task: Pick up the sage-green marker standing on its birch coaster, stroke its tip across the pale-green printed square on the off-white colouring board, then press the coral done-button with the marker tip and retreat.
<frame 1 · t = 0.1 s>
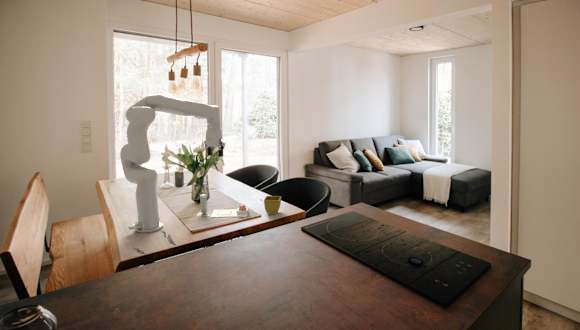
hand: (215, 155, 188), 31 cm above the table, fingers open, 9 cm apart
coaster: (204, 214, 177), on the table
flower pot: (272, 213, 179), on the table
board: (230, 214, 177), on the table
button: (242, 208, 177), point 3 cm above the table, slide at 0.0 cm
marker: (204, 213, 177), resting on coaster
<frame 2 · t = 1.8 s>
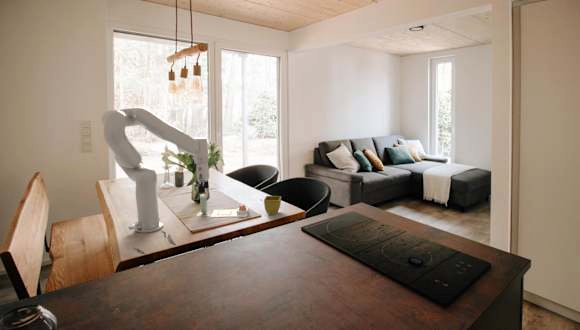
hand: (203, 190, 175), 14 cm above the table, fingers open, 9 cm apart
nothing on the table moved.
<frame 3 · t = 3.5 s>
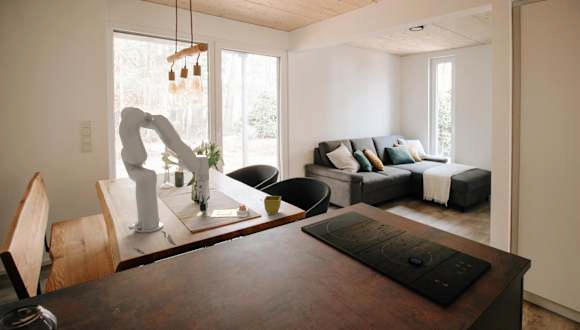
hand: (203, 209, 176), 3 cm above the table, fingers closed on marker, 3 cm apart
marker: (204, 213, 177), point 1 cm above the table, touching coaster, gripper
everything else where it was.
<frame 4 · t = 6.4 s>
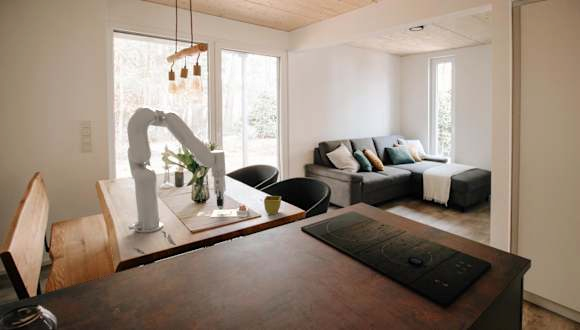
hand: (220, 204, 176), 6 cm above the table, fingers closed on marker, 3 cm apart
marker: (220, 209, 177), point 3 cm above the table, touching gripper
everything else where it was.
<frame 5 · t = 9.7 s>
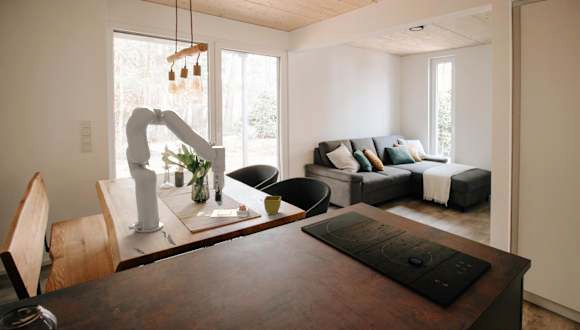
hand: (218, 200, 177), 8 cm above the table, fingers closed on marker, 3 cm apart
marker: (219, 205, 178), point 5 cm above the table, touching gripper
everything else where it was.
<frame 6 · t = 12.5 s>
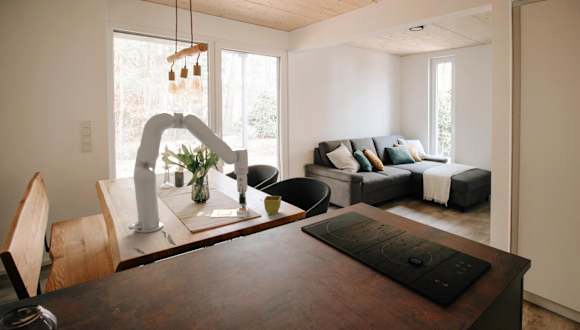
hand: (242, 202, 177), 7 cm above the table, fingers closed on marker, 3 cm apart
button: (242, 210, 177), point 2 cm above the table, slide at 1.2 cm, touching board, marker
marker: (243, 207, 177), point 4 cm above the table, touching button, gripper
everything else where it was.
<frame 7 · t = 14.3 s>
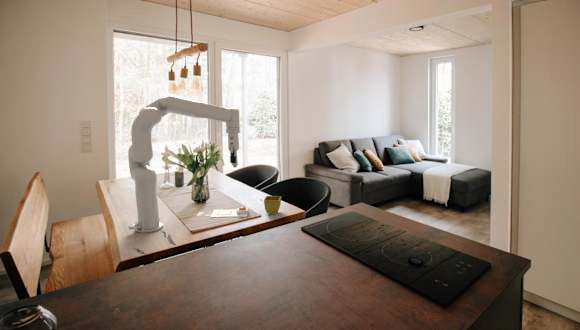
hand: (233, 162, 180), 29 cm above the table, fingers closed on marker, 3 cm apart
button: (242, 210, 177), point 2 cm above the table, slide at 1.2 cm, touching board
marker: (235, 167, 181), point 26 cm above the table, touching gripper
everything else where it was.
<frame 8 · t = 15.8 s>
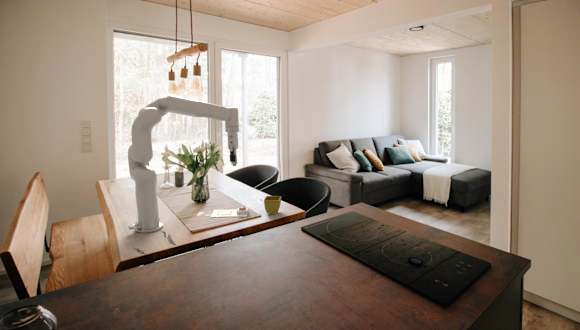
hand: (233, 160, 181), 29 cm above the table, fingers closed on marker, 3 cm apart
marker: (234, 165, 182), point 26 cm above the table, touching gripper
everything else where it was.
at the end: button slide at 1.2 cm; the gripper is holding marker; marker point 26.3 cm above the table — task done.
